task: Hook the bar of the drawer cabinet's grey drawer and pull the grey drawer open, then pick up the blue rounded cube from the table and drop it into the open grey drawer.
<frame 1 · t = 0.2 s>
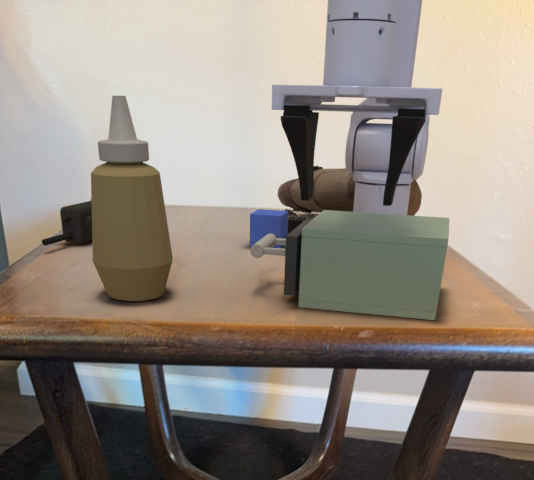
hand: (346, 201, 59), 10 cm above the table, tool pointing down, fingers open, 7 cm apart
drawer cabinet: (371, 298, 67), on the table
blue rounded cube: (268, 245, 89), on the table
multiport hub: (318, 235, 96), on the table
anatomy model: (117, 227, 99), on the table, touching walkie-talkie
squeeze bottle: (136, 297, 66), on the table
grey drawer: (334, 258, 66), point 4 cm above the table, slide at 0.5 cm
boot: (396, 191, 101), point 5 cm above the table, touching knife
knife: (308, 221, 104), on the table, touching boot
walkie-talkie: (110, 216, 92), point 2 cm above the table, touching anatomy model
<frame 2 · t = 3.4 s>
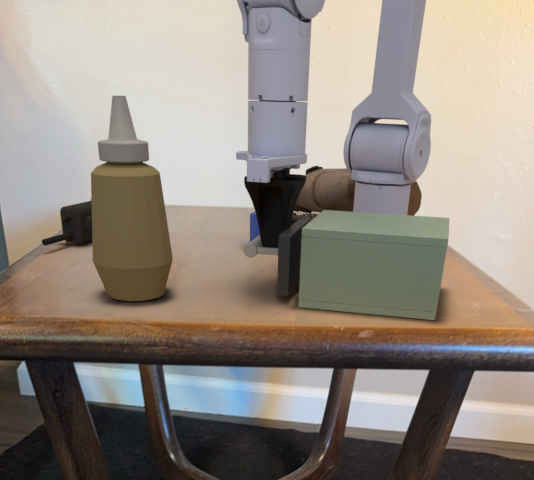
hand: (273, 249, 67), 4 cm above the table, tool pointing down, fingers closed, pressing on grey drawer
grey drawer: (327, 257, 66), point 4 cm above the table, slide at 1.2 cm, touching gripper
everything else where it was.
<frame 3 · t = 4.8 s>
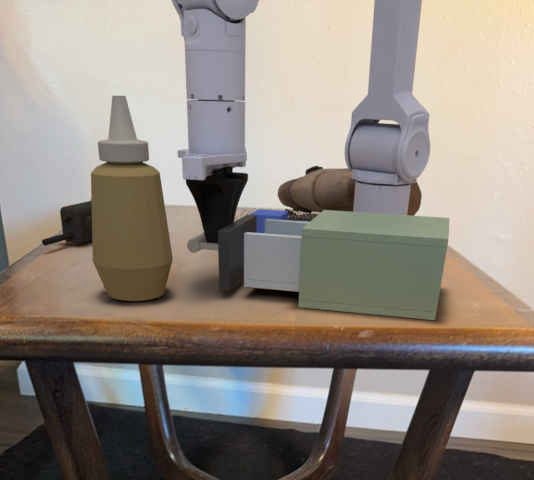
hand: (218, 246, 68), 4 cm above the table, tool pointing down, fingers closed, pressing on grey drawer
grey drawer: (270, 253, 67), point 4 cm above the table, slide at 7.5 cm, touching gripper
everything else where it was.
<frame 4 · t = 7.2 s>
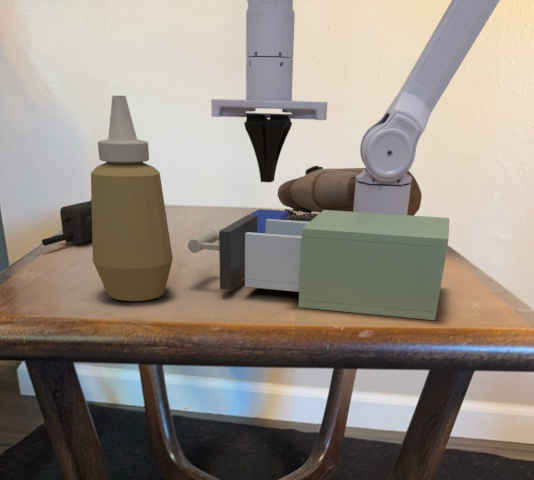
hand: (267, 181, 83), 8 cm above the table, tool pointing down, fingers closed
grey drawer: (271, 253, 67), point 4 cm above the table, slide at 7.3 cm
everything else where it was.
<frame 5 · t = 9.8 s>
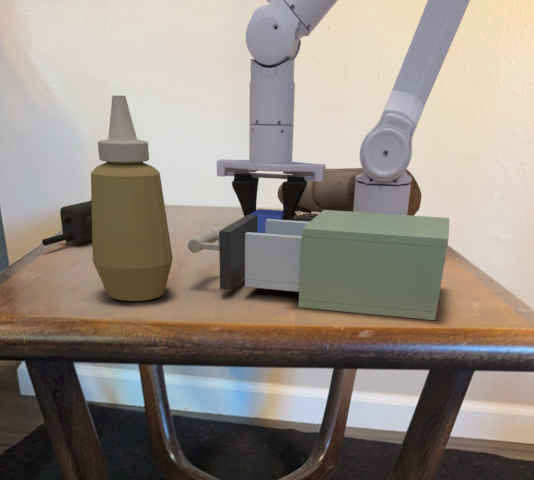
hand: (269, 235, 88), 1 cm above the table, tool pointing down, fingers closed on blue rounded cube, 4 cm apart
blue rounded cube: (268, 245, 89), on the table, touching gripper
everything else where it was.
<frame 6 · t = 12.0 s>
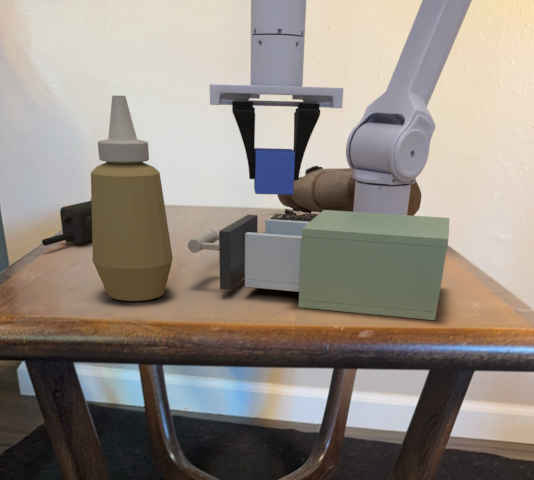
hand: (274, 178, 73), 10 cm above the table, tool pointing down, fingers closed on blue rounded cube, 4 cm apart
blue rounded cube: (273, 191, 74), point 9 cm above the table, touching gripper
everything else where it was.
when the fingers open (6 cm above the table, at t = 14.7 s): blue rounded cube drops 2 cm, resting on grey drawer.
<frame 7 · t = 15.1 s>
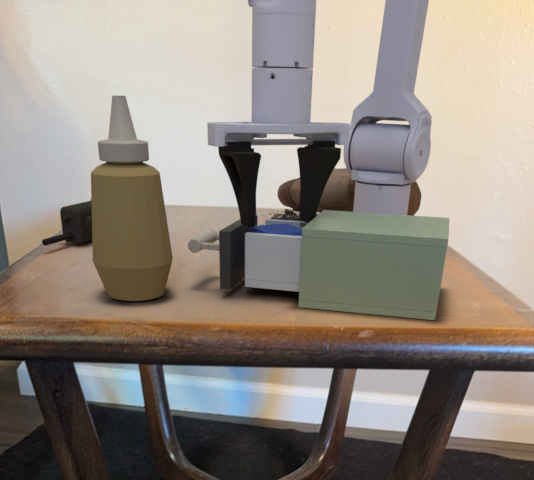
hand: (277, 223, 65), 7 cm above the table, tool pointing down, fingers open, 6 cm apart
blue rounded cube: (277, 270, 68), point 2 cm above the table, touching grey drawer
grey drawer: (271, 253, 67), point 4 cm above the table, slide at 7.3 cm, touching blue rounded cube
everything else where it was.
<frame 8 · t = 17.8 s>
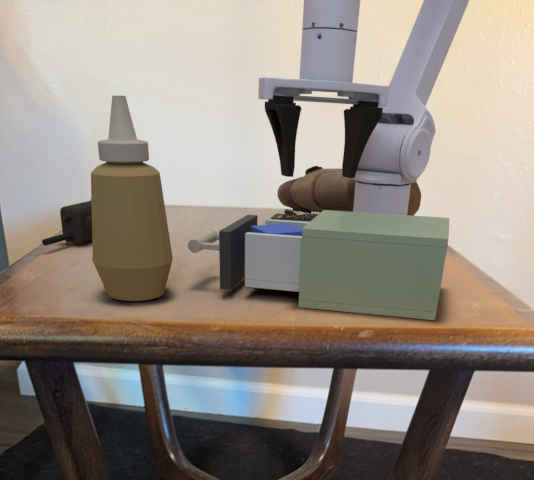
hand: (318, 176, 72), 10 cm above the table, tool pointing down, fingers open, 7 cm apart
nothing on the table moved.
at the end: grey drawer slide at 7.3 cm; blue rounded cube inside the target area in the drawer cabinet (6.5 cm from its centre), point 2.0 cm above the drawer cabinet's base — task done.
